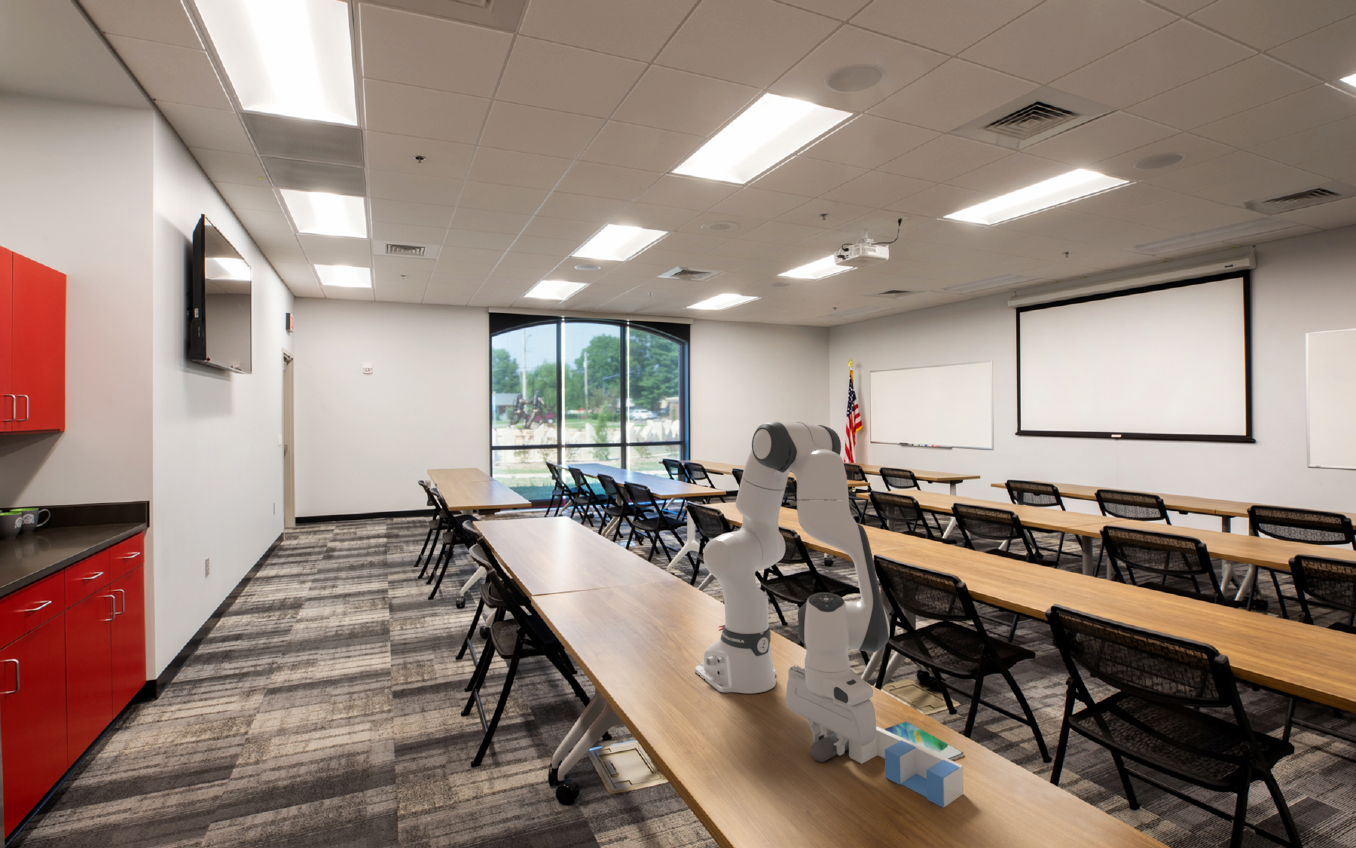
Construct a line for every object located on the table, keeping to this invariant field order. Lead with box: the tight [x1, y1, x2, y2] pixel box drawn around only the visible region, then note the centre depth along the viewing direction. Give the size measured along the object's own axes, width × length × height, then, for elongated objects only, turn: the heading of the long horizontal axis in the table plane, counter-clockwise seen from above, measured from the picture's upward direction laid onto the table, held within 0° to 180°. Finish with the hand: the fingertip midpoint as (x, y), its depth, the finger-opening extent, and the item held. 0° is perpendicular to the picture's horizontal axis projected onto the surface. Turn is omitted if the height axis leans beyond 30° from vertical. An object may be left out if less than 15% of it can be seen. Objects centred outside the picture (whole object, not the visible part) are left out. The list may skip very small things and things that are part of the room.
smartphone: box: [883, 721, 965, 761], centre depth 126 cm, size 7×1×15 cm
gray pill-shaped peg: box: [810, 733, 849, 763], centre depth 123 cm, size 4×12×4 cm, turn 126°
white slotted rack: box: [819, 725, 964, 809], centre depth 118 cm, size 28×6×5 cm, turn 36°
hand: (828, 747), depth 122 cm, fingers closed on gray pill-shaped peg, 4 cm apart
